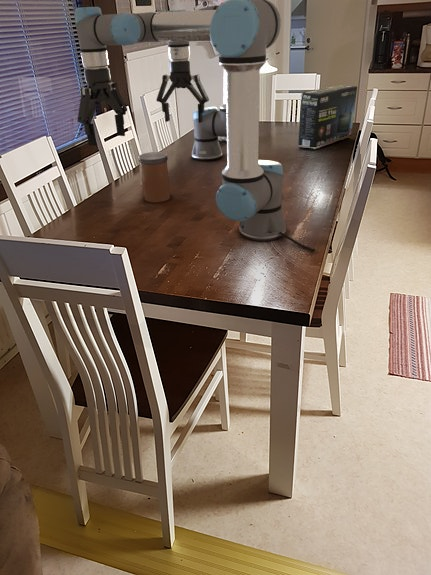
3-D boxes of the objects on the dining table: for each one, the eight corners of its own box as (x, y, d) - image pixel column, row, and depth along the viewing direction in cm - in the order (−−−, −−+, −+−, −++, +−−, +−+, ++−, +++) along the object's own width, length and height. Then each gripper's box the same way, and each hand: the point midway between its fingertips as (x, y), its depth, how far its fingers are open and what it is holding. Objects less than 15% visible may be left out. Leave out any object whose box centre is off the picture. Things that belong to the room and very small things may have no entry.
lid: (149, 155, 180) (149, 150, 179) (173, 157, 175) (172, 153, 174) (133, 162, 172) (132, 158, 171) (157, 165, 167) (157, 160, 166)
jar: (153, 192, 187) (149, 152, 179) (174, 195, 183) (171, 154, 175) (139, 200, 179) (134, 159, 171) (161, 203, 175) (156, 161, 167)
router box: (314, 151, 231) (318, 94, 217) (296, 148, 237) (299, 92, 224) (352, 138, 251) (358, 85, 238) (335, 135, 258) (340, 83, 245)
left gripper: (143, 61, 165) (150, 122, 176) (209, 60, 158) (211, 124, 170) (152, 59, 171) (158, 118, 182) (215, 58, 165) (217, 120, 176)
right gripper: (114, 63, 147) (123, 131, 158) (55, 72, 129) (70, 148, 140) (132, 63, 144) (140, 132, 155) (75, 72, 126) (88, 150, 137)
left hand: (184, 121), depth 176 cm, fingers open, 13 cm apart
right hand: (107, 140), depth 148 cm, fingers open, 13 cm apart
